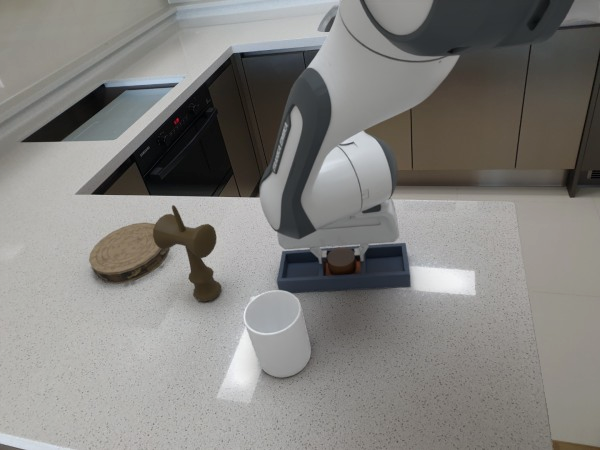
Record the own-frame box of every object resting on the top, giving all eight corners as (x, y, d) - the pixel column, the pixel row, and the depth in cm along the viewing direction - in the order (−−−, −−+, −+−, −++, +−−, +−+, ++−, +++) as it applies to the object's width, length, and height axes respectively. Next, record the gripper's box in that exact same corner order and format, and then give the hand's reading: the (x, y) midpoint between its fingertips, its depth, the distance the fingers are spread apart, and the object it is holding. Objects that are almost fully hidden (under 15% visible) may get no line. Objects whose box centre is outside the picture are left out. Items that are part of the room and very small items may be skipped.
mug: (238, 339, 75) (221, 295, 69) (280, 313, 78) (268, 269, 72) (276, 390, 66) (261, 345, 60) (322, 358, 69) (312, 312, 63)
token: (356, 276, 80) (355, 265, 78) (328, 277, 81) (326, 267, 79) (356, 256, 84) (355, 246, 82) (329, 258, 85) (327, 248, 83)
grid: (410, 286, 78) (410, 274, 76) (279, 293, 82) (276, 281, 80) (405, 255, 84) (405, 242, 82) (285, 262, 88) (282, 250, 86)
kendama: (198, 276, 89) (163, 190, 77) (238, 288, 85) (207, 199, 73) (178, 297, 85) (138, 211, 73) (219, 311, 81) (183, 221, 69)
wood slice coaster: (113, 295, 89) (107, 284, 87) (84, 261, 99) (77, 251, 97) (183, 251, 96) (178, 240, 94) (148, 224, 107) (144, 214, 105)
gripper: (265, 212, 72) (282, 276, 80) (398, 201, 69) (401, 269, 77) (271, 190, 77) (286, 252, 85) (395, 179, 74) (398, 244, 82)
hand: (341, 260), depth 81 cm, fingers closed on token, 5 cm apart
